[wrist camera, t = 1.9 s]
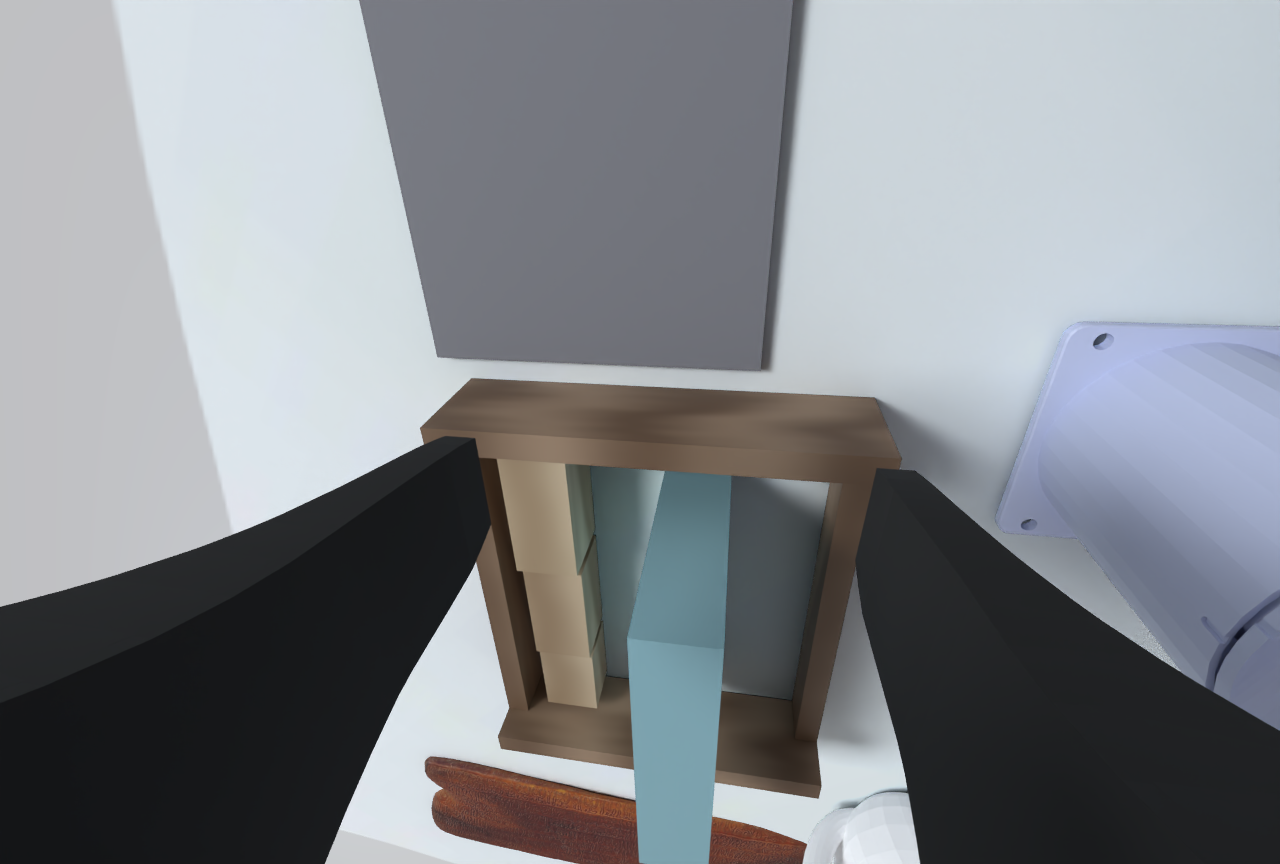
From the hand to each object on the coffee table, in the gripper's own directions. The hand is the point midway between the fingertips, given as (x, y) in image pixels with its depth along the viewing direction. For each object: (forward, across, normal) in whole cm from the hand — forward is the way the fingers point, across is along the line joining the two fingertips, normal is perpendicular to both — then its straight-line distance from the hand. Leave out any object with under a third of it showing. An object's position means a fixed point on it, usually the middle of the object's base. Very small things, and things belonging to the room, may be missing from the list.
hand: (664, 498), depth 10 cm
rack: (+10, +1, +12) cm, 16 cm away
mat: (+10, +4, -6) cm, 13 cm away
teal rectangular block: (+10, 0, +12) cm, 16 cm away
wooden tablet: (+11, +4, +36) cm, 38 cm away
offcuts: (+10, +6, +12) cm, 17 cm away
